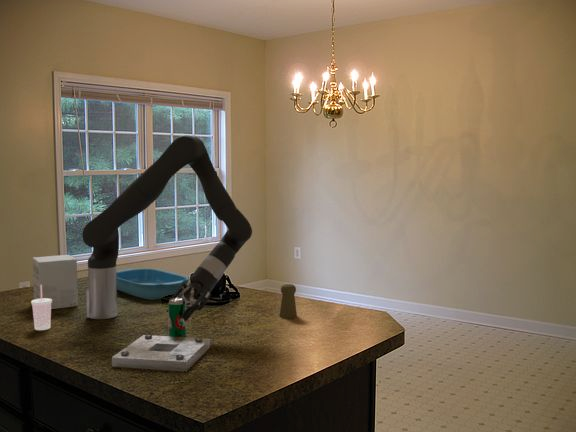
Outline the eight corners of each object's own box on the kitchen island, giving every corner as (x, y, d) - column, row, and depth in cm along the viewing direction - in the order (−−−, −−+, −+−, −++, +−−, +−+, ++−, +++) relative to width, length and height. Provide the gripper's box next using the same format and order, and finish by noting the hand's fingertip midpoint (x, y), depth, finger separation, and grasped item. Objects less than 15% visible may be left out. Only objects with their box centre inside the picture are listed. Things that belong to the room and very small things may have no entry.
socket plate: (112, 366, 153) (111, 354, 152) (143, 343, 172) (143, 332, 172) (186, 371, 149) (185, 359, 149) (210, 347, 169) (209, 336, 169)
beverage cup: (48, 324, 192) (46, 281, 191) (56, 328, 188) (54, 284, 186) (29, 328, 188) (27, 284, 187) (36, 332, 183) (35, 287, 182)
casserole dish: (199, 295, 236) (198, 277, 235) (150, 304, 220) (150, 285, 219) (147, 281, 261) (147, 266, 261) (101, 289, 245) (100, 272, 245)
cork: (299, 314, 205) (299, 283, 204) (293, 319, 200) (293, 286, 199) (282, 313, 207) (282, 282, 206) (276, 317, 202) (276, 285, 201)
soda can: (169, 336, 179) (169, 297, 178) (186, 336, 180) (186, 297, 178) (167, 341, 174) (167, 301, 173) (185, 341, 175) (184, 301, 173)
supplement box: (70, 299, 228) (69, 254, 226) (78, 306, 216) (77, 258, 215) (33, 303, 220) (31, 257, 219) (40, 311, 209) (38, 262, 208)
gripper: (189, 262, 186) (156, 304, 180) (214, 269, 175) (180, 313, 169) (203, 277, 190) (172, 318, 183) (228, 284, 179) (196, 328, 173)
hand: (176, 316), depth 176 cm, fingers open, 8 cm apart
